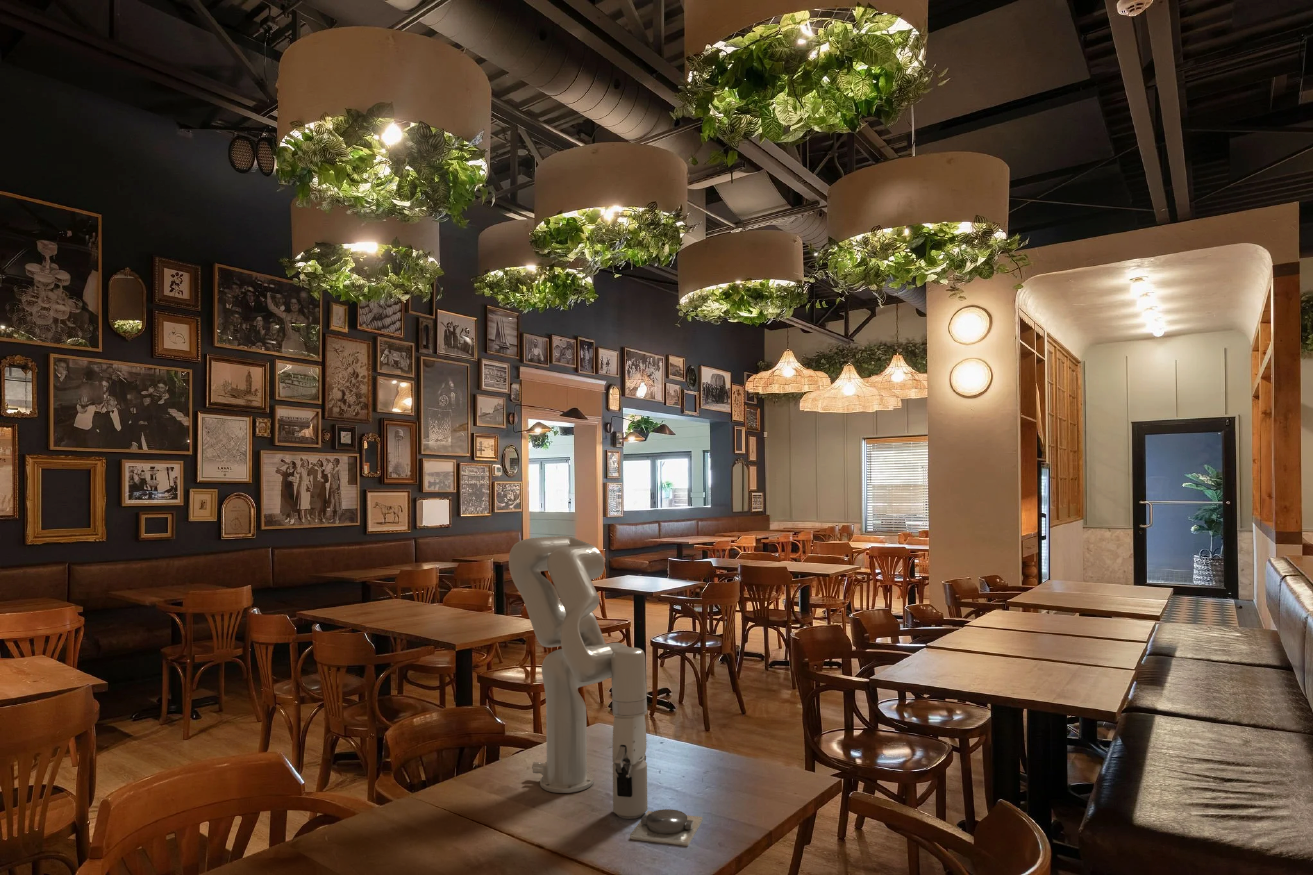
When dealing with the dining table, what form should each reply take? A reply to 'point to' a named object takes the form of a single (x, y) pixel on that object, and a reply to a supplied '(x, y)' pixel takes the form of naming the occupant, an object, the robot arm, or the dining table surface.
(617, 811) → the can
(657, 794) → the dining table surface
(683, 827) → the white flat square plate
